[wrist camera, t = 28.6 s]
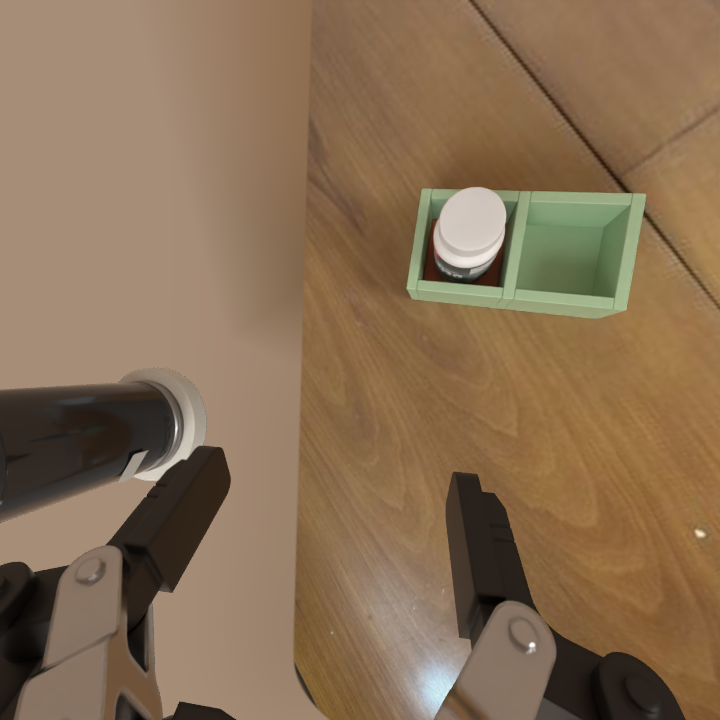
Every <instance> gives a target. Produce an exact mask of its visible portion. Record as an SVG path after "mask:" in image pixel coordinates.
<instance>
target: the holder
mask: <svg viewBox="0 0 720 720" xmlns="http://www.w3.org/2000/svg"><path fill="white" fill-rule="evenodd" d="M461 190H463V189H422V191H421V197H420V203H419V210H418V216H417V223H416V229H415V236H414V242H413V249H412V255H411V261H410V268H409V274H408V281H407V287H406V288H407V290H408V292H409V294H410V296H411V299H416V300H425V301H434V302H443V303H453V304H462V305H471V306H481V307H490V308H499V309H509V310H518V311H527V312H536V313H546V314H555V315H564V316H574V317H583V318H592V319H598V318H602V317H605V316H609V315H612V314H615V313H619V312H622V311H626V308H627V303H628V297H629V291H630V286H631V280H632V274H633V268H634V263H635V257H636V251H637V245H638V240H639V234H640V228H641V223H642V217H643V211H644V205H645V200H646V194H641V193H633V194H632V193H595V192H553V191H532V192H531V191H520V192H519V191H506V190H491V191H493V192H494V193H496V194H497V195H498V196H499V197H500V198H501V200H502V201H503V203H504V205H505V209H506V222H505V235H504V240H503V242H502V245H501V247H500V249H499V251H498V253H497V255H496V257H495V259H494V261H493V263H492V265H491V267H490V269H489V270H488V272H487V273H486V274H485V276H484V277H482V278H481V279H480V280H478V281H477V282H475V283H472V284H459V283H448V282H447V281H445V280H444V279H443V278H442V277H441V276H440V275H439V273H438V271H437V269H436V266H435V256H434V242H433V235H434V229H435V225H436V223H437V221H438V219H439V217H440V213H441V210H442V208H443V206H444V205H445V203H446V202H447V201H448V199H449V198H450V197H451V196H453V195H454V194H455V193H457V192H459V191H461Z"/></svg>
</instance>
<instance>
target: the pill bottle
mask: <svg viewBox="0 0 720 720" xmlns="http://www.w3.org/2000/svg"><path fill="white" fill-rule="evenodd" d="M505 222H506V209H505V205H504V203H503V201H502V200H501V198H500V197H499V196H498V195H497V194H496V193H494V192H493V191H491V190H489V189H486V188H483V187H470V188H466V189H463V190H461V191H459V192H457V193H455V194H454V195H453V196H451V197H450V198H449V199H448V201H447V202H446V203H445V205H444V206H443V208H442V210H441V213H440V217H439V219H438V221H437V223H436V225H435V229H434V235H433V242H434V256H435V266H436V269H437V271H438V273H439V275H440V276H441V277H442V278H443V279H444V280H445V281H447V282H448V283H459V284H472V283H475V282H477V281H478V280H480V279H481V278H482V277H484V276H485V274H486V273H487V272H488V270H489V269H490V267H491V265H492V263H493V261H494V259H495V257H496V255H497V253H498V251H499V249H500V247H501V245H502V242H503V240H504V235H505Z"/></svg>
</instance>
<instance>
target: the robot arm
mask: <svg viewBox="0 0 720 720" xmlns="http://www.w3.org/2000/svg"><path fill="white" fill-rule="evenodd" d="M183 431H184V421H183V415H182V411H181V408H180V405H179V403H178V401H177V399H176V398H175V396H174V395H173V394H172V392H171V391H170V390H169V389H168V388H166V387H165V386H164V385H162V384H160V383H158V382H155V381H150V380H142V381H132V382H126V383H107V384H89V385H73V386H56V387H39V388H22V389H5V390H0V523H2V522H5V521H8V520H11V519H13V518H16V517H19V516H22V515H24V514H27V513H30V512H33V511H36V510H39V509H41V508H44V507H47V506H50V505H52V504H55V503H58V502H61V501H64V500H66V499H69V498H72V497H74V496H78V495H80V494H83V493H86V492H88V491H91V490H94V489H97V488H100V487H103V486H105V485H108V484H111V483H114V482H117V481H118V483H120V482H123V481H126V480H128V479H131V478H132V477H133V476H134V475H136V474H139V473H142V472H146V471H150V470H153V469H156V468H158V467H161V466H163V465H165V464H166V463H168V462H169V461H170V460H171V459H172V458H173V457H174V456H175V454H176V453H177V451H178V449H179V447H180V445H181V442H182V438H183ZM230 482H231V477H230V473H229V469H228V466H227V462H226V458H225V455H224V451H223V449H222V448H220V447H210V446H201V445H200V446H198V447H196V448H195V449H194V451H193V452H192V453H191V455H190V456H189V457H188V459H187V460H184V459H181V460H180V461H178V462H177V463H176V464H174V465H173V466H172V467H170V468H169V469H168V470H166V472H165V473H164V474H163V475H162V476H161V478H160V479H159V480H158V481H157V483H156V486H153V488H152V489H151V490H150V491H149V493H148V494H147V497H145V498H144V499H143V500H142V501H141V503H140V504H139V505H138V506H137V508H136V509H135V510H134V511H133V512H132V514H131V515H130V516H129V517H128V519H127V520H126V521H125V522H124V524H123V525H122V526H121V528H120V529H119V530H118V531H117V532H116V534H115V535H114V536H113V537H112V539H111V540H110V541H109V542H108V543H107V544H106V545H105V546H101V547H97V548H94V549H92V550H90V551H88V552H86V553H84V554H83V555H82V556H80V557H78V558H77V559H76V560H75V561H74V562H73V563H72V564H71V565H68V566H63V567H58V568H53V569H48V570H42V571H38V572H33V571H32V570H31V569H30V568H29V567H28V566H27V565H26V564H25V563H23V562H11V563H7V564H4V565H1V566H0V720H236V719H234V718H233V717H231V716H230V715H228V714H227V713H225V712H224V711H223V710H221V709H218V708H212V707H207V706H201V705H196V704H191V703H185V702H179V704H178V706H177V709H176V711H175V713H174V715H171V716H168V717H166V718H163V713H162V703H161V697H160V693H159V689H158V686H157V682H156V677H155V657H154V626H153V605H152V601H153V599H154V597H155V595H156V594H157V592H158V591H163V592H170V593H172V592H173V590H174V589H175V587H176V585H177V584H178V582H179V580H180V578H181V576H182V574H183V573H184V571H185V569H186V567H187V565H188V564H189V562H190V560H191V558H192V557H193V555H194V553H195V551H196V549H197V548H198V546H199V544H200V542H201V540H202V539H203V537H204V535H205V533H206V532H207V530H208V528H209V526H210V524H211V522H212V521H213V519H214V517H215V515H216V514H217V511H218V510H219V508H220V506H221V505H222V503H223V501H224V499H225V497H226V496H227V494H228V491H229V488H230ZM446 525H447V534H448V543H449V551H450V560H451V569H452V578H453V586H454V595H455V604H456V613H457V622H458V630H459V638H466V639H470V640H471V647H472V652H471V654H470V655H469V657H468V659H467V661H466V663H465V665H464V667H463V669H462V670H461V672H460V674H459V676H458V678H457V680H456V682H455V683H454V685H453V687H452V688H451V690H450V691H449V693H448V694H447V696H446V698H445V699H444V701H443V703H442V705H441V707H440V709H439V710H438V712H437V714H436V716H435V718H434V720H685V718H684V715H683V713H682V711H681V709H680V707H679V705H678V703H677V701H676V699H675V697H674V695H673V694H672V692H671V691H670V689H669V688H668V686H667V685H666V684H665V683H664V681H663V680H662V679H661V678H660V677H659V676H658V675H657V674H656V673H655V672H654V671H653V670H652V669H651V668H650V667H649V666H647V665H646V664H645V663H643V662H642V661H640V660H639V659H637V658H635V657H633V656H631V655H629V654H626V653H622V652H612V653H609V654H607V655H606V656H605V657H601V656H599V655H597V654H595V653H593V652H591V651H589V650H587V649H585V648H583V647H581V646H579V645H577V644H575V643H573V642H571V641H569V640H568V639H566V638H564V637H562V636H561V635H560V634H558V633H557V632H556V631H554V630H553V629H552V628H551V627H550V626H549V625H548V624H547V623H546V622H545V621H544V619H543V618H542V617H541V615H540V614H539V612H538V611H537V609H536V607H535V605H534V603H533V600H532V598H531V594H530V591H529V588H528V584H527V581H526V577H525V574H524V571H523V567H522V564H521V560H520V557H519V554H518V550H517V547H516V543H514V537H513V533H512V530H511V529H510V523H509V520H508V516H507V513H506V509H505V507H504V506H503V505H502V503H501V502H500V501H499V499H498V498H497V496H496V495H495V494H494V493H488V492H482V490H481V486H480V481H479V478H478V475H477V474H472V473H462V472H453V474H452V477H451V482H450V487H449V491H448V496H447V501H446Z"/></svg>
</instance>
